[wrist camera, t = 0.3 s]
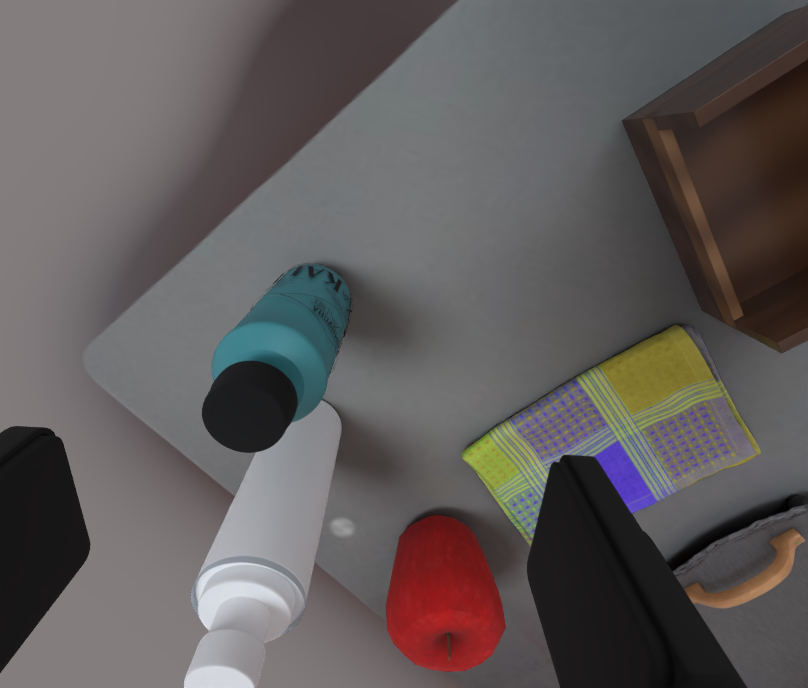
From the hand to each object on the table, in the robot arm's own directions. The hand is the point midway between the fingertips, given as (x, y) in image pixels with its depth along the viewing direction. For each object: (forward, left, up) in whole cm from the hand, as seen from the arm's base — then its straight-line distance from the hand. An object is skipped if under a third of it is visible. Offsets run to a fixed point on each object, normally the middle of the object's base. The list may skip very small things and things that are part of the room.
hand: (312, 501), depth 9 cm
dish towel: (+29, +7, -31) cm, 43 cm away
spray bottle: (+11, -16, -31) cm, 37 cm away
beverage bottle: (+1, -7, -31) cm, 32 cm away
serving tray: (+64, +15, -31) cm, 73 cm away
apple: (+30, -13, -31) cm, 45 cm away
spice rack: (+12, +26, -31) cm, 42 cm away
